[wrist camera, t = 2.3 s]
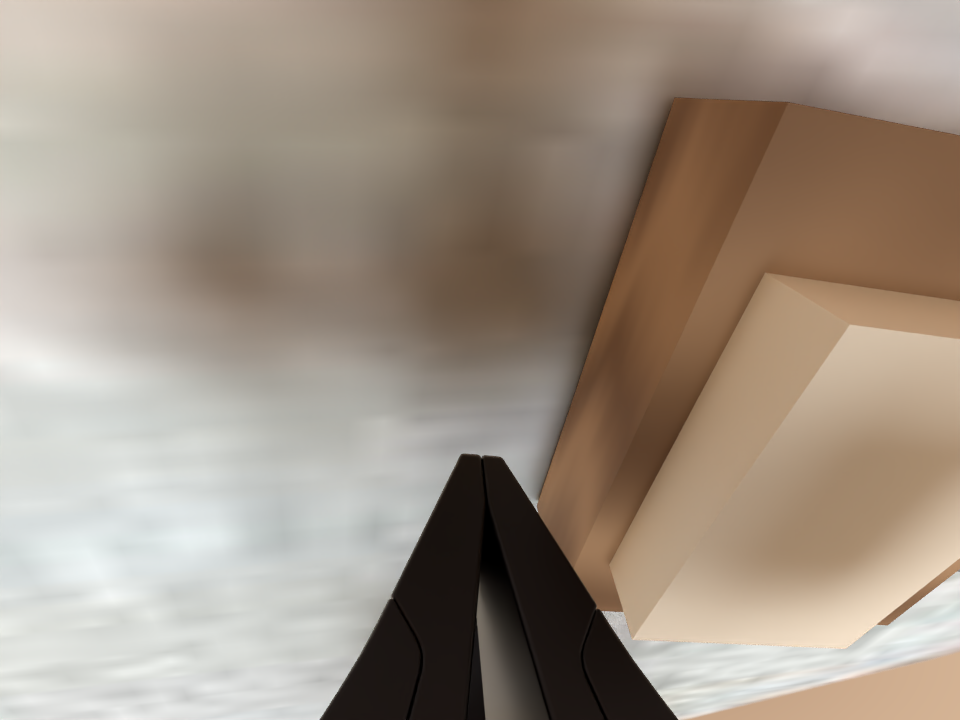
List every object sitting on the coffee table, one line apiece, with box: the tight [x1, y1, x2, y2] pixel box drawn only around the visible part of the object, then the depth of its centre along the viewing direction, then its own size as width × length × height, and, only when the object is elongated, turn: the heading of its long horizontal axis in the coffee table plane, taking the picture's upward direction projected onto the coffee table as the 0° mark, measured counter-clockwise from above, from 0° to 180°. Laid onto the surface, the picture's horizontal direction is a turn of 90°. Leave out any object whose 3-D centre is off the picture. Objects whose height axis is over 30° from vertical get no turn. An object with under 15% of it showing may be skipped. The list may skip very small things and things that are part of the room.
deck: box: [537, 98, 960, 625], centre depth 12 cm, size 14×12×4 cm
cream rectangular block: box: [609, 273, 960, 649], centre depth 10 cm, size 9×6×2 cm, turn 171°
